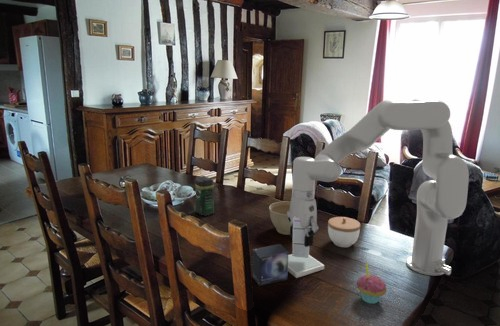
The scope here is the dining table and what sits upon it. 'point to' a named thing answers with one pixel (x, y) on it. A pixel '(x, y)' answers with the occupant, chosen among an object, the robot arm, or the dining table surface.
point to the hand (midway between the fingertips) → (301, 240)
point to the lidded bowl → (343, 231)
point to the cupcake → (371, 287)
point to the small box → (270, 264)
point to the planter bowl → (280, 216)
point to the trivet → (303, 265)
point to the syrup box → (299, 239)
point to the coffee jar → (204, 195)
